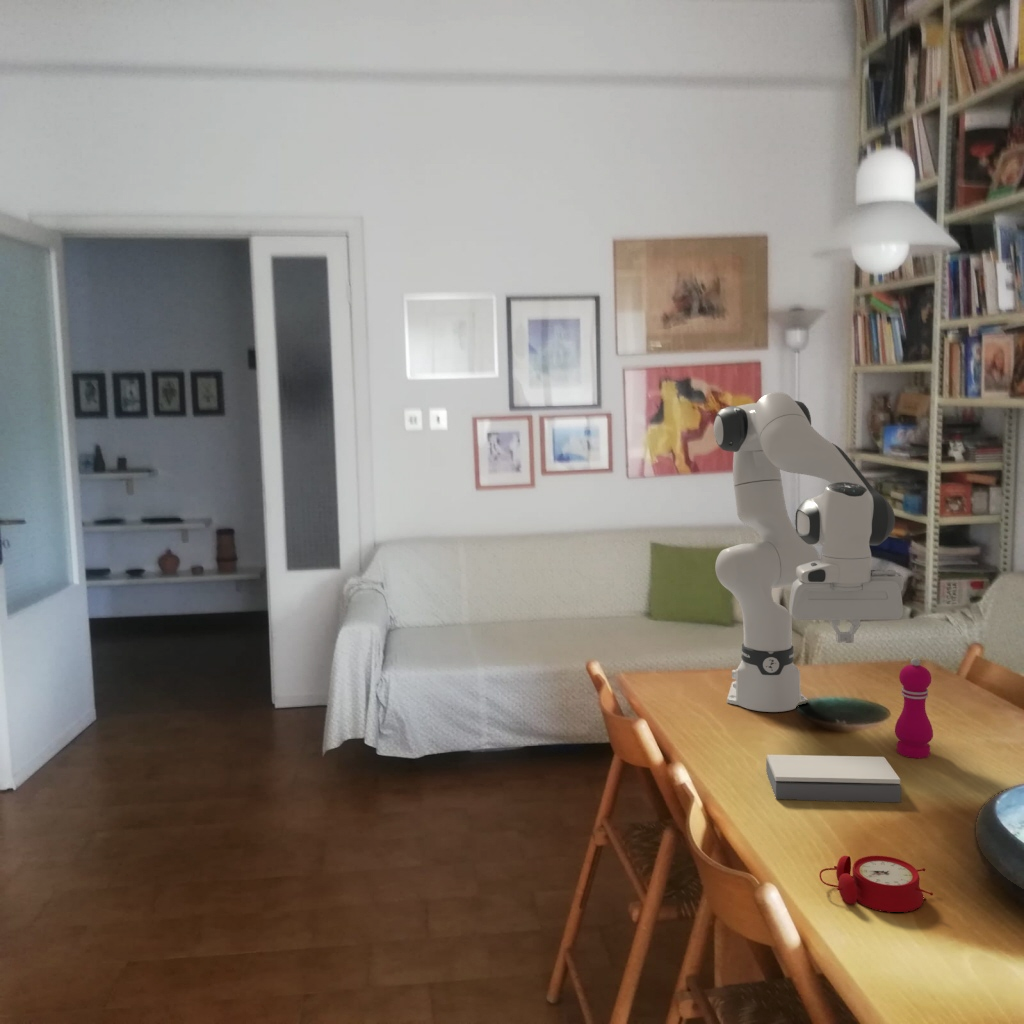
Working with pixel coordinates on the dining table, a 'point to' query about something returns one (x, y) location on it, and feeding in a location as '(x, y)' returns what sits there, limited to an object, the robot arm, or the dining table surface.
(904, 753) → the pepper mill
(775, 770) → the cover
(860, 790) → the grey flat frame
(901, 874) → the alarm clock
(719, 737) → the dining table surface
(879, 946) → the dining table surface
